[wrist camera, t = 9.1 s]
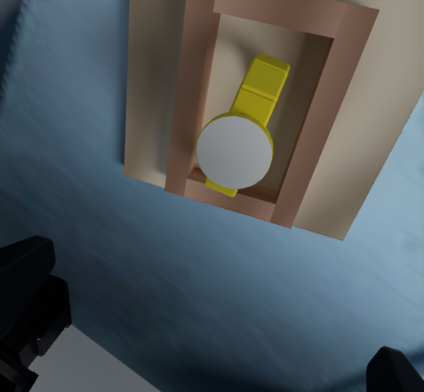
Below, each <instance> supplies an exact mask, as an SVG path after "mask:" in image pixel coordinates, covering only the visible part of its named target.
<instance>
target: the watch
mask: <svg viewBox="0 0 424 392" xmlns="http://www.w3.org/2000/svg"><path fill="white" fill-rule="evenodd" d="M289 69H290V65H289V64H288V63H285V62H283V61H280V60H278V59H275V58H273V57H270V56H268V55H265V54H263V53H259V54H257V56H256V57H255V58H254V59H253V60H252V62H251V64H250V66H249V68H248V70H247V72H246V74H245V76H244V78H243V80H242V82H241V84H240V87H239V89H238V91H237V93H236V96H235V98H234V100H233V103H232V105H231V108H230V110H229V112H225V113H222V114H220V115H218V116H216V117H214V118H213V119H212V120H211V121H210V122H208V123H207V124H206V125H205V126H204V127H203V129H202V130H201V132H200V134H199V136H198V138H197V141H196V148H195V152H196V158H197V162H198V164H199V166H200V168H201V170H202V172H203V173H204V174H205V175H206V178H205V185H206V186H207V187H209V188H212V189H214V190H216V191H219V192H221V193H224V194H226V195H228V196H231V197H233V196H235V195H236V193H237V190H238V189H243V188H246V187H249V186H252V185H254V184H255V183H257V182H258V181H260V180H261V179H262V178H263V177H264V176H265V174H266V173H267V171H268V170H269V168H270V164H271V161H272V157H273V141H272V138H271V136H270V133H269V131H268V129H267V128H266V125H267V123H268V121H269V118H270V116H271V114H272V111H273V109H274V107H275V104H276V102H277V100H278V97H279V95H280V92H281V90H282V87H283V85H284V83H285V80H286V78H287V75H288V72H289Z"/></svg>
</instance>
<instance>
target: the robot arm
mask: <svg viewBox="0 0 424 392" xmlns="http://www.w3.org/2000/svg"><path fill="white" fill-rule="evenodd" d="M55 261H56V258H55V251H54V244H53V241H52V240H51V239H50V238H47V237H44V236H40V235H36V236H33V237H30V238H27V239H24V240H21V241H19V242H16V243H13V244H10V245H8V246H5V247H2V248H0V392H29V391H30V389H31V387H32V386H33V384H34V383H35V381H36V379H37V378H38V376H39V375H38V374H37V373H35V372H32V371H31V370H29V369H28V367H29V365H30V364H31V363H32V362H33V361H34V359H35V358H36V357H37V355H38V356H43V355H44V354H45V353H46V352H47V351H48V349H49V348H50V346H51V345H52V344H53V343H54V341H55V340H56V339H57V337H58V336H59V335H60V334H61V332H62V331H63V330H64V328H65V327H66V328H68V327H69V326H70V325H71V324H72V321H71V312H70V302H69V293H68V286H67V284H66V283H65V282H63V281H60V280H57V279H54V278H51V277H48V275H49V274H50V272H51V271H52V269H53V267H54V265H55ZM366 392H424V380H423V379H422V377H421V376H420V375H419V373H418V372H417V371H416V369H415V368H414V367H413V365H412V364H411V363H410V361H409V360H408V359H407V357H406V356H405V355H404V354H403V353H402V352H401V351H399V350H396V349H393V348H390V347H387V346H383V347H381V348H380V349H379V350H378V352H377V353H376V354H375V356H374V357H373V358H372V359H371V361H370V362H369V363H368V366H367V369H366Z"/></svg>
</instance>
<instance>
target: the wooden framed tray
mask: <svg viewBox="0 0 424 392" xmlns="http://www.w3.org/2000/svg"><path fill="white" fill-rule="evenodd" d="M259 53H263V54H265V55H268V56H270V57H273V58H275V59H278V60H280V61H283V62H285V63H288V64H289V65H290V69H289V72H288V75H287V78H286V80H285V83H284V85H283V87H282V90H281V92H280V95H279V97H278V100H277V102H276V104H275V107H274V109H273V111H272V114H271V116H270V118H269V121H268V123H267V125H266V128H267V129H268V131H269V133H270V136H271V138H272V141H273V157H272V161H271V164H270V168H269V170H268V171H267V173H266V174H265V176H264V177H263V178H262V179H261V180H260V181H258V182H257V183H255V184H254V185H252V186H249V187H246V188H243V189H238V190H237V193H236V195H235V196H233V197H231V196H228V195H226V194H224V193H221V192H219V191H216V190H214V189H212V188H209V187H207V186H206V185H205V178H206V175H205V174H204V173H203V172H202V170H201V168H200V166H199V164H198V162H197V158H196V152H195V148H196V141H197V138H198V136H199V134H200V132H201V130H202V129H203V127H204V126H205V125H206V124H207V123H208V122H210V121H211V120H212V119H213V118H214V117H216V116H218V115H220V114H222V113H225V112H229V110H230V108H231V105H232V103H233V100H234V98H235V96H236V93H237V91H238V89H239V87H240V84H241V82H242V80H243V78H244V76H245V74H246V72H247V70H248V68H249V66H250V64H251V62H252V60H253V59H254V58H255V57H256V56H257V54H259ZM423 91H424V0H129V28H128V62H127V95H126V129H125V163H124V176H127V177H130V178H134V179H137V180H140V181H144V182H147V183H150V184H154V185H157V186H160V187H164V188H165V190H164V191H167V192H171V193H174V194H177V195H181V196H184V197H187V198H191V199H194V200H197V201H201V202H204V203H207V204H211V205H214V206H217V207H221V208H224V209H227V210H231V211H234V212H237V213H241V214H244V215H247V216H251V217H254V218H257V219H261V220H264V221H267V222H271V223H274V224H277V225H281V226H284V227H287V228H291V227H292V226H294V227H298V228H301V229H305V230H308V231H311V232H315V233H318V234H321V235H325V236H328V237H331V238H335V239H338V240H341V241H343V240H344V238H345V236H346V234H347V232H348V230H349V229H350V227H351V225H352V223H353V221H354V219H355V217H356V215H357V214H358V212H359V210H360V208H361V206H362V204H363V202H364V201H365V199H366V197H367V195H368V193H369V191H370V189H371V188H372V186H373V184H374V182H375V180H376V178H377V176H378V175H379V173H380V171H381V169H382V167H383V165H384V163H385V162H386V160H387V158H388V156H389V154H390V152H391V150H392V149H393V147H394V145H395V143H396V141H397V139H398V137H399V136H400V134H401V132H402V130H403V128H404V126H405V124H406V123H407V121H408V119H409V117H410V115H411V113H412V111H413V110H414V108H415V106H416V104H417V102H418V100H419V98H420V96H421V95H422V93H423Z"/></svg>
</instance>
